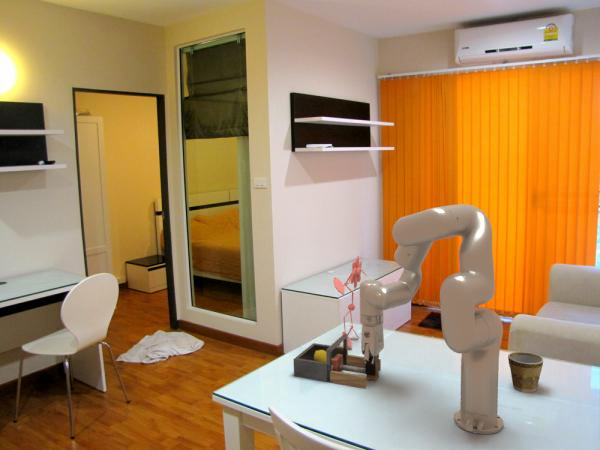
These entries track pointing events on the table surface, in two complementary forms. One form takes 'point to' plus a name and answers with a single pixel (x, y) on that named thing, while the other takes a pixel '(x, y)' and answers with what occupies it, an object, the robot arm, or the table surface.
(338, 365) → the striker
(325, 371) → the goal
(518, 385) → the ceramic cup
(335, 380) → the lane
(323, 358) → the lemon
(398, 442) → the table surface
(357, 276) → the figurine
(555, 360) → the table surface
